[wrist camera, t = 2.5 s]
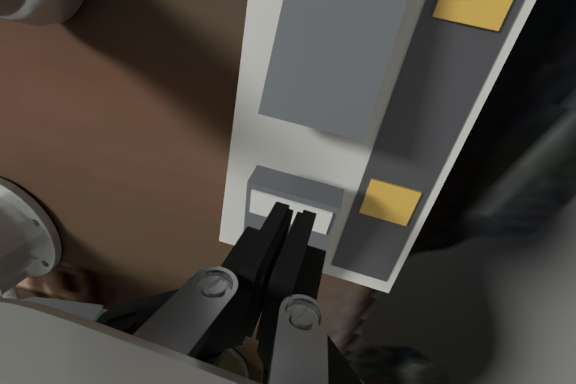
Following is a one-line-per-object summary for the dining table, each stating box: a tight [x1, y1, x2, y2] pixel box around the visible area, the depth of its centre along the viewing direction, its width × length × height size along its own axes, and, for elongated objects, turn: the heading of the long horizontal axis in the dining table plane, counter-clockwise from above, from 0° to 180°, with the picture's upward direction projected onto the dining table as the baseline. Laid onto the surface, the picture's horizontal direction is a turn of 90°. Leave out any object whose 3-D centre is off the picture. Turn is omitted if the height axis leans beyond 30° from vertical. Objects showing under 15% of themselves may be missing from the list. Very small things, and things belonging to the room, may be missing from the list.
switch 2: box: [244, 165, 345, 250], centre depth 19 cm, size 8×5×2 cm, turn 168°
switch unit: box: [219, 0, 536, 293], centre depth 17 cm, size 30×13×5 cm, turn 168°
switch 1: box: [258, 0, 408, 142], centre depth 14 cm, size 8×5×2 cm, turn 168°
